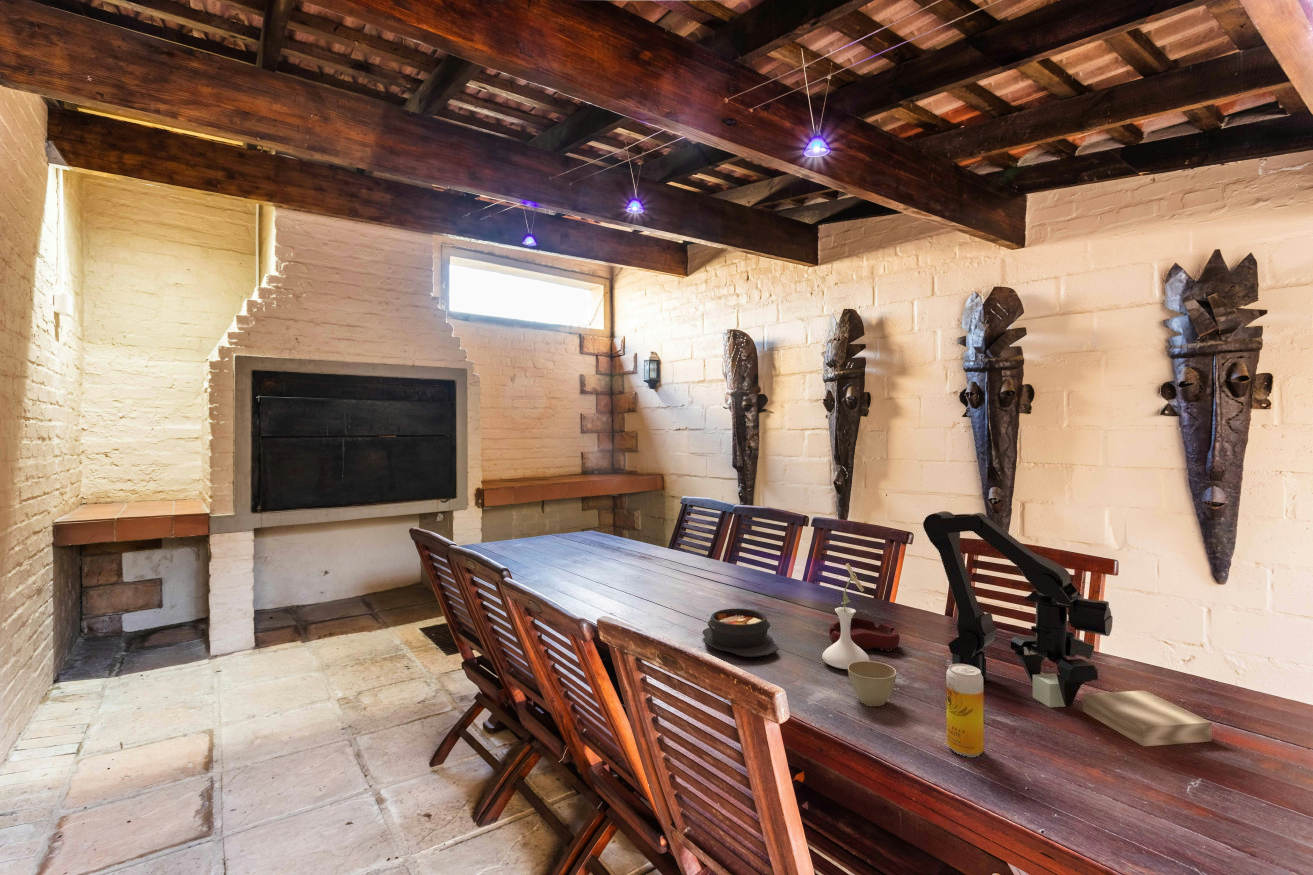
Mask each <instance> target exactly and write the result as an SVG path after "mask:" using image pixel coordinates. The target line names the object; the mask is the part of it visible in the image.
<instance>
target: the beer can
mask: <svg viewBox="0 0 1313 875" xmlns="http://www.w3.org/2000/svg"><path fill="white" fill-rule="evenodd" d="M945 674H946V676H945V677H946V684H945V685H946V688H945V689H946V744H947V746H948V747H949V749H950V748H951V749H952V750H953V751H954V752H953V751H952V750H951V749H950V750H951V751H952V752H953V753H955V752H956V753H957V755H958V754H960V755H959V756H961V755H963V756H962V757H965V756H967V757H966V758H976V756H977V757H979V756H980V755H981V754H982V753H983V752H984V749H985V746H984V744H985V743H984V741H985V739H984V736H985V735H984V734H985V733H984V731H985V730H984V728H985V727H984V726H985V725H984V682H983V676H982V674H981V671H980V670H979V669H978V668H976V667H974V666H971V665H966V664H949V666H948V668H947V670H946V673H945ZM956 753H955V754H956Z"/></svg>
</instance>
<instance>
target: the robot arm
mask: <svg viewBox="0 0 1313 875" xmlns="http://www.w3.org/2000/svg"><path fill="white" fill-rule="evenodd" d="M922 525H923V526H922V527H923V530H924V532H925V533H926V534H925V535H926V536H927V538H928V540H929V542H930V543H931V544H932V545H933V546H934V548H935V549H936V550H937V552H938V553H939V556H940V560H941V562H942V565H943V569H944V572H945V574H946V577H947V582H948V583H949V587H950V590H951V593H952V597H953V600H954V603H955V605H956V609H957V618H956V627H957V628H956V629H957V633H958V634H957V637H956V638H955V639H953V640H952V641H950V642H949V643H948V644H947V645H948V649H949V652H950V653H951V663H952V664H966V665H971V666H974V667H976V668H978V669H979V670H980V671H981V674H982V676H983V683H984V682H990V678H989V677H987V658H986V657H985V654H986V652H984V651H985V650H986V649H987V647H988V645H990V644H991V643H993V642H994V640H995V638H996V631H997V630H998V627H997V626H996V625H995V622H994V620H993V615H992V612H986V613H985V612H984V611H983V609H982V608H981V607H980V605H979V602H978V599H977V597H976V593H975V591H974V588H973V584H972V581H971V579H970V575H969V572H968V570H967V567H966V563H965V560H964V558H963V554H962V551H961V549H960V539H961V533H962V532H963V533H964V532H973V533H974V534H976V535H977V536H978V537H979V538H980V539H982V541H984V542H986V544H989V545H990V546H991V547H992V548H994V549H995V550H996V551H997V552H998V553H999V554H1001V555H1002V556H1004V557H1005V558H1006V559H1007V560H1009V561H1010V562H1011V563H1012V564H1014V565H1015V567H1017V568H1018V569H1019V570H1020V572H1021V574H1022V575H1023V576H1024V579H1026V581H1027V582H1028V583H1029V584H1030V585H1031V586H1032V587H1033V588H1034V589H1033V590H1032V591H1031V593H1029V594H1028V595H1027V596H1025V597H1024V601H1026V602H1027V601H1028V602H1033V603H1035V625H1030V626H1031V627H1030V630H1031V632H1034V633H1035V636H1034V635H1018V636H1013V637H1012V639H1011V640H1010V649H1011V650H1012V651H1014V654H1015V655H1016V656H1017V658H1018V660H1019V662H1020V664H1021V665H1022V668H1023V669H1024V672H1026V674H1027V677H1028V679H1029V681H1030V682H1031V685H1032V686H1033V675H1036V674H1042V663H1043V661H1044V660H1045V659H1046V660H1047V661H1050V662H1051V663H1053V664H1056V666H1057V672H1058V674H1056V675H1057V678H1058V682H1059V686H1060V690H1061V694H1062V698H1063V701H1064V704H1065V706H1064V707H1067V708H1068V707H1072V706H1071V705H1073V703H1074V701H1075V699H1076V696H1077V695H1078V692H1079V690H1080V688H1081V687H1082V685H1083V684H1085V683H1087V682H1088V683H1090V682H1093V681H1098V680H1099V669H1098V668H1097V667H1096V665H1094V664H1092V663H1090V662H1088V661H1086V660H1084V659H1082V658H1079V659H1078V658H1076V655H1077V656H1080V657H1083V658H1085V659H1087V660H1092V659H1091V658H1092V656H1093V653H1094V650H1095V647H1096V645H1095V644H1091V643H1090V642H1088V641H1085V640H1082V639H1080V638H1078V637H1076V636H1075V633H1074V632H1073V631H1071V630H1068V623H1069V624H1070V627H1073V628H1074V630H1076V631H1081V632H1085V633H1090V634H1095V635H1098V636H1105V637H1109V636H1110V635H1111V632H1112V629H1113V617H1114V616H1113V615H1112V611H1111V608H1110V602H1109V601H1105V600H1094V599H1089V598H1082V597H1083V595H1082V594H1081V592H1080V591H1079V589H1078V588H1077V587H1076V585H1074V583H1073V582H1072V581H1071V574H1070V572H1069V571H1068V570H1067V569H1066V568H1065V567H1064V566H1062V565H1060V564H1058V563H1057V562H1055V561H1054V560H1051V559H1049V558H1048V557H1044V556H1042V555H1041V554H1040V555H1039V554H1037V553H1036V552H1033V551H1032V550H1030V549H1029V548H1028V547H1027V546H1025V545H1024V544H1023V543H1021V542H1020V541H1019V540H1017V539H1016V538H1015V537H1013V535H1011V534H1009V533H1008V532H1007V531H1005V530H1004V529H1003V528H1002V527H1001V526H999V525H998V524H996V523H995V522H994V521H993V520H991V519H990V518H989V517H988V516H987V515H986V514H984V513H983V512H982V513H981V512H976V513H959V514H954V513H952V512H950V511H946V510H945V511H939V512H934V513H931V514H928V515H927V516H926V517H925V518H924V521H923V522H922ZM1067 657H1070V658H1074V659H1067ZM952 664H951V665H952Z"/></svg>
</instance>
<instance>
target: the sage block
mask: <svg viewBox="0 0 1313 875" xmlns="http://www.w3.org/2000/svg"><path fill="white" fill-rule="evenodd" d="M1057 675H1058V674H1056V673H1054V672H1053V673H1041V674H1036V675H1033V685H1032V698H1033V699H1034V700H1035V699H1036V700H1037V701H1038V702H1040V703H1042V704H1043V705H1045V706H1047V707H1048V708H1059V707H1066V706H1065V704H1064V701H1063V698H1062V694H1061V690H1060V686H1059V682H1058V678H1057ZM1072 705H1073V704H1072ZM1072 705H1071V706H1070V707H1073V706H1072Z"/></svg>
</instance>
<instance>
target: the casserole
mask: <svg viewBox="0 0 1313 875" xmlns="http://www.w3.org/2000/svg"><path fill="white" fill-rule="evenodd" d="M707 626H708V627H707V628H705V629H703V630H702V635H703V636H704V642H705V644H707V645H708V646H709V647H711V648H713V649H715V650H719V651H723V652H725V651H726V652H727V653H730V652H731V653H732V654H734V655H736V656H740V657H744V658H745V657H746V658H753V657H762V656H767V655H771V654H773V653H776V652H777V651H779V648H780V647H779V646H778V645H777V644H776V643H775V642H774V639H773V637H772V636H771V635H770V634H768V631H769V630H770V628H771V623H770V622H769V621H768V618H767V616H766V615H765V614H764V613H763V612H760V611H758V610H754V609H747V608H727V609H726V608H725V609H721V610H717V611H715V612H713V613H712V614H711V616H710V618H709V620H708V621H707Z"/></svg>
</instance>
